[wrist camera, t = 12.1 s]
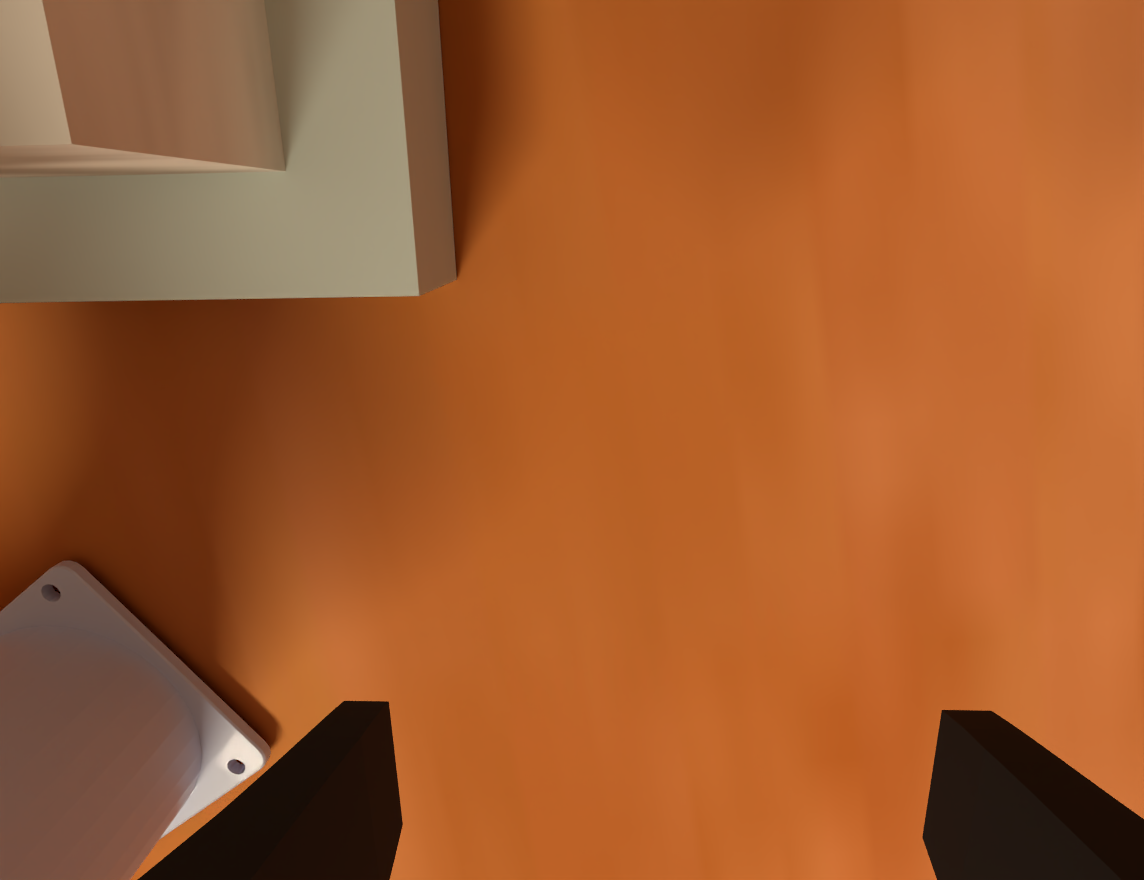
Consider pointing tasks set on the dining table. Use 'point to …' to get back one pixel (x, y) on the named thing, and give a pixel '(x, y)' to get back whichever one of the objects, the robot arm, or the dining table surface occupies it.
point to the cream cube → (136, 88)
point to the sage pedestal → (270, 185)
